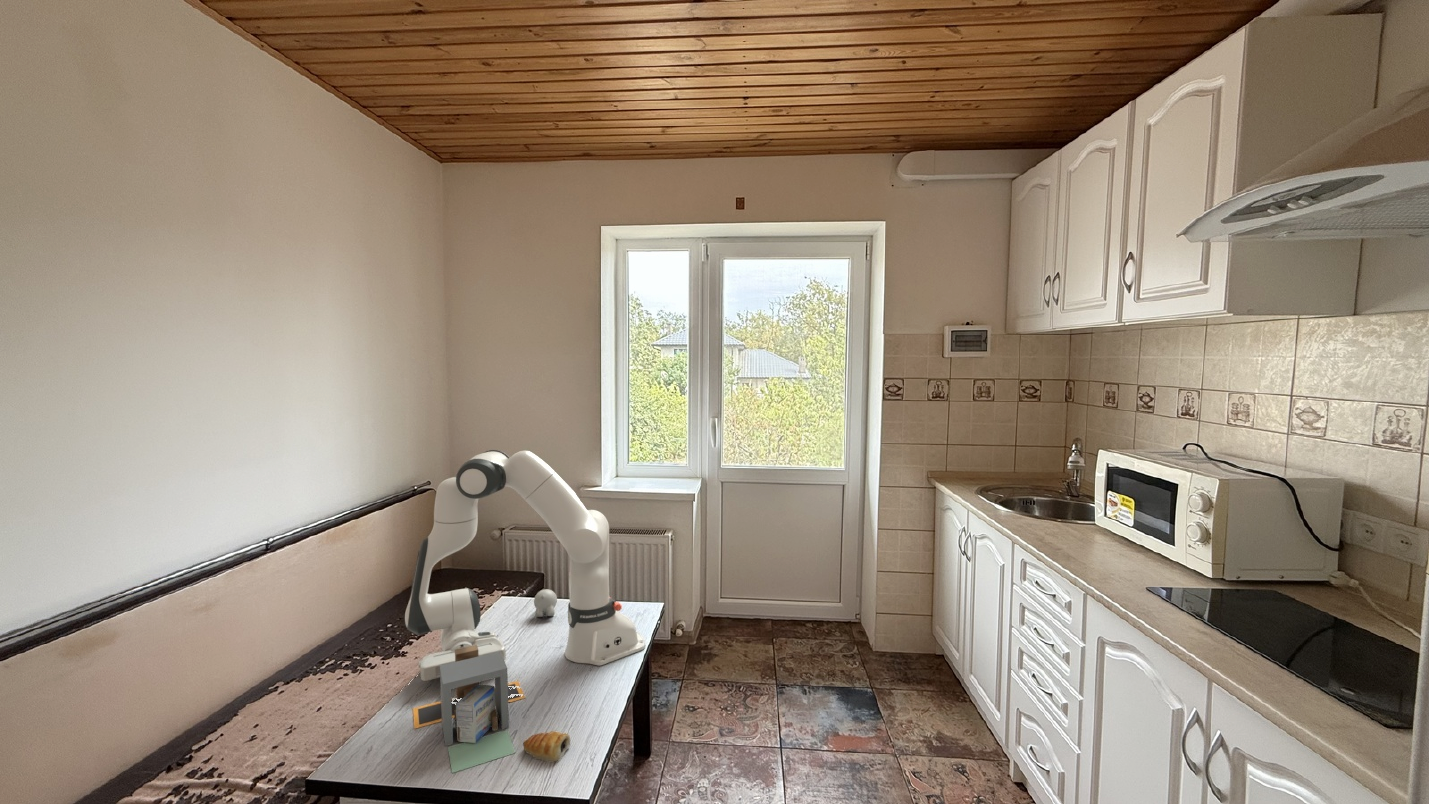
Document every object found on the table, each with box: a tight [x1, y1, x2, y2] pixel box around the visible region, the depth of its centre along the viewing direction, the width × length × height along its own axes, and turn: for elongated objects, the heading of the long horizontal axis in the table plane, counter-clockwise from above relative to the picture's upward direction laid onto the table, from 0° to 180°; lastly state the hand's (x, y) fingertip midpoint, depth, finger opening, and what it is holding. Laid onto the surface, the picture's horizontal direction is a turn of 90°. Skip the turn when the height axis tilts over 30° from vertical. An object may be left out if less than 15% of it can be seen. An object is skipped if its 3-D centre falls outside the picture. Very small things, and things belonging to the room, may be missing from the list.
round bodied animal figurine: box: [533, 588, 558, 618], centre depth 189 cm, size 7×12×8 cm, turn 10°
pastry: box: [522, 730, 571, 763], centre depth 121 cm, size 9×7×4 cm
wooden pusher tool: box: [454, 645, 499, 742], centre depth 134 cm, size 8×20×11 cm, turn 29°
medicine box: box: [456, 683, 496, 743], centre depth 127 cm, size 8×4×9 cm, turn 168°
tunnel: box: [439, 651, 510, 747], centre depth 129 cm, size 13×9×14 cm
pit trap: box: [412, 680, 526, 730], centre depth 138 cm, size 24×9×1 cm, turn 119°
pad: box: [447, 729, 516, 774], centre depth 121 cm, size 12×9×1 cm
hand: (466, 673), depth 143 cm, fingers closed, pressing on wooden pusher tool
